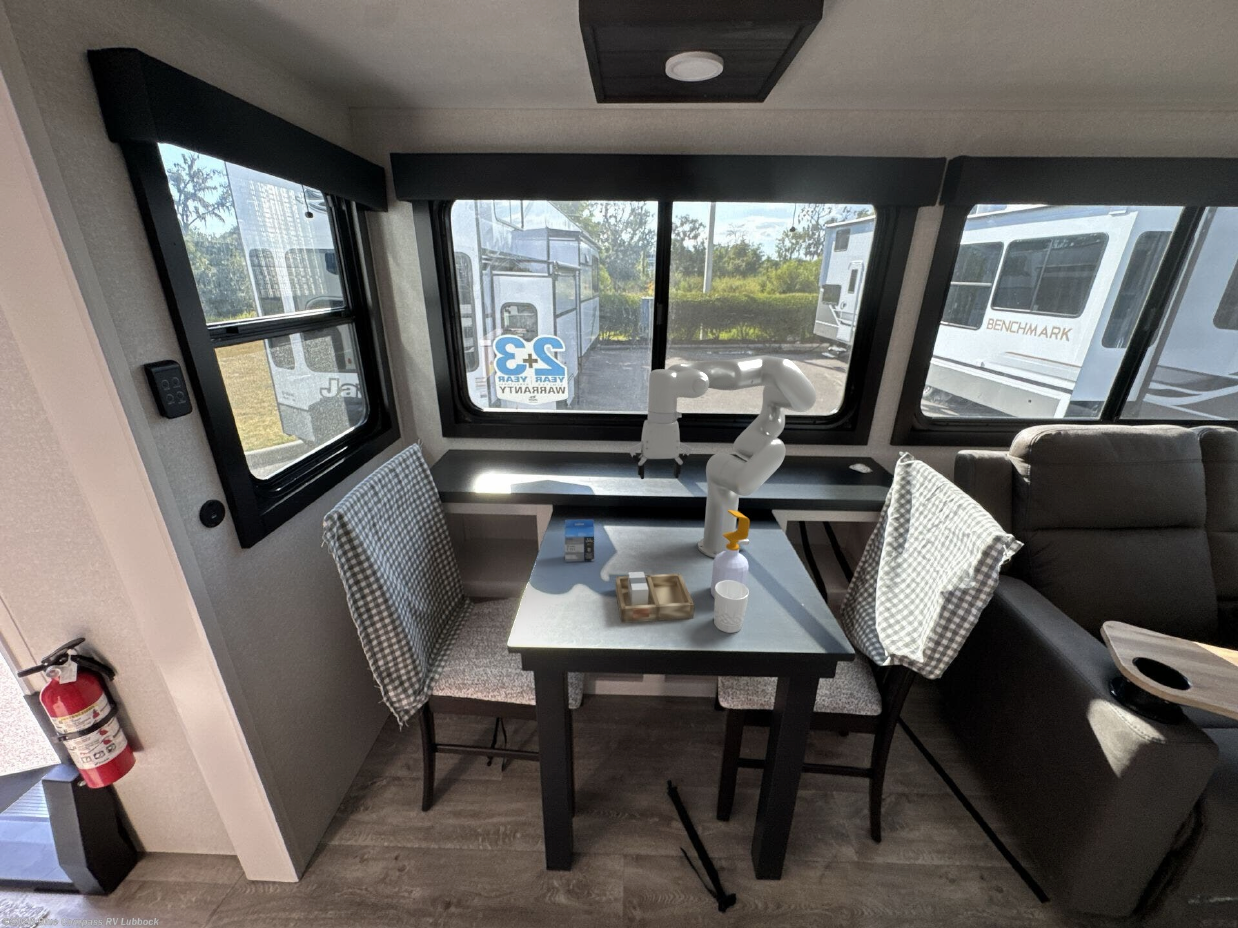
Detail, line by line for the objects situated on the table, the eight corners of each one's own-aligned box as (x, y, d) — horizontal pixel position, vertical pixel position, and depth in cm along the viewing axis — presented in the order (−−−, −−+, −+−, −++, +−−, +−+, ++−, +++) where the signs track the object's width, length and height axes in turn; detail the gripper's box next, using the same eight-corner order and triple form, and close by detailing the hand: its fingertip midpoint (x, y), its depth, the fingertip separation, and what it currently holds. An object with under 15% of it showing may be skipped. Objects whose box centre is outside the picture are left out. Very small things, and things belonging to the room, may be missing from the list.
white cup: (721, 609, 122) (724, 576, 118) (749, 622, 117) (754, 588, 114) (705, 625, 116) (709, 590, 112) (735, 639, 111) (739, 603, 108)
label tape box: (564, 562, 142) (564, 525, 138) (565, 555, 146) (564, 519, 142) (594, 561, 142) (594, 525, 138) (594, 554, 146) (594, 518, 142)
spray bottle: (704, 588, 130) (711, 507, 122) (732, 582, 134) (741, 502, 125) (722, 607, 123) (731, 521, 114) (751, 600, 126) (762, 516, 117)
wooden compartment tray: (679, 585, 132) (680, 572, 130) (693, 618, 118) (694, 605, 117) (615, 588, 129) (615, 576, 128) (621, 623, 116) (621, 609, 114)
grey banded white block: (642, 591, 127) (643, 571, 125) (647, 609, 120) (648, 588, 117) (627, 591, 127) (628, 572, 125) (631, 610, 119) (632, 589, 117)
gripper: (689, 413, 130) (685, 471, 136) (627, 414, 128) (626, 473, 134) (697, 420, 123) (692, 481, 129) (631, 420, 121) (629, 482, 127)
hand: (658, 477), depth 132 cm, fingers open, 9 cm apart
